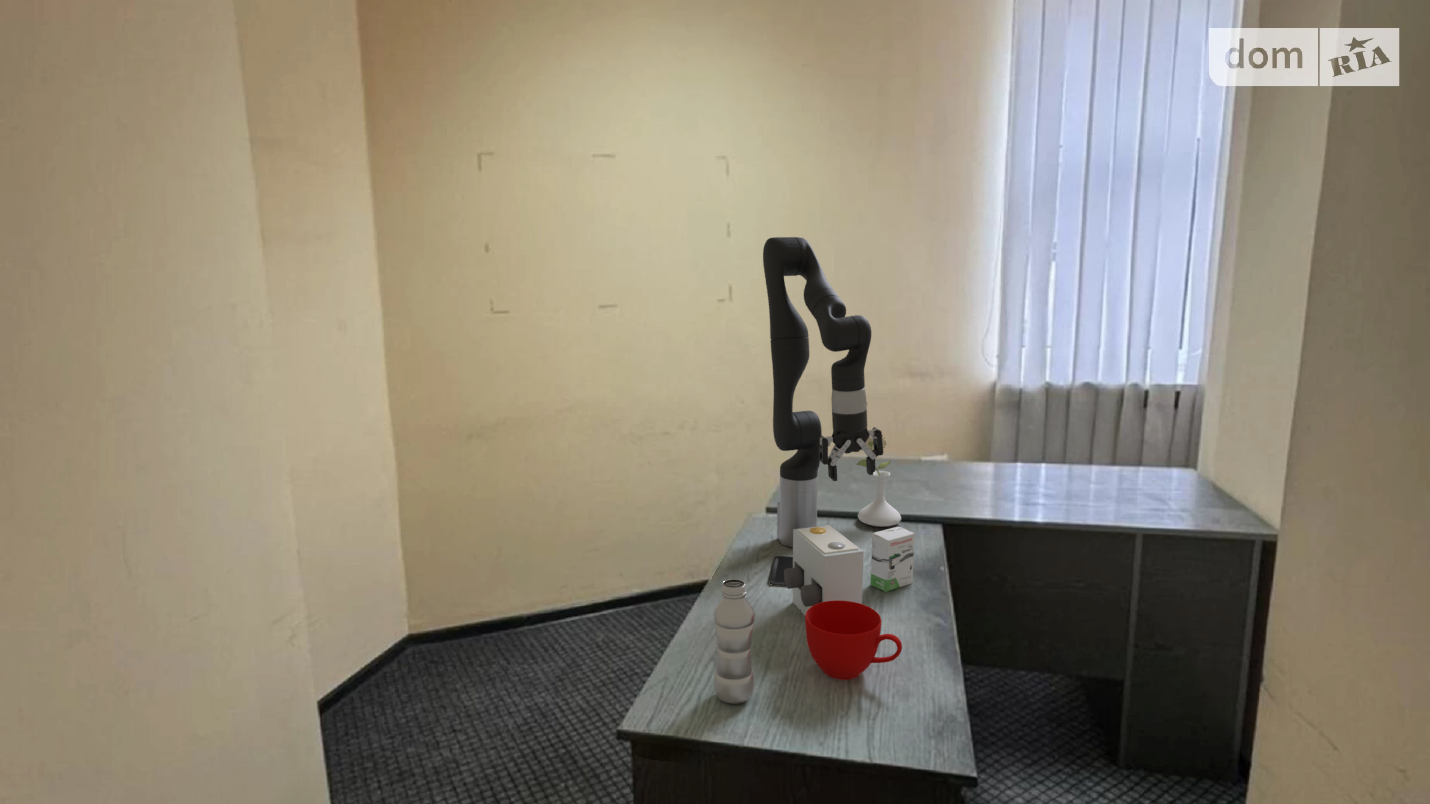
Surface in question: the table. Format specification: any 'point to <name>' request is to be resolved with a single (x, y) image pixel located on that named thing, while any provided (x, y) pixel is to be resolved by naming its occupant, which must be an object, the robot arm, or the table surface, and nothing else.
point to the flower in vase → (879, 497)
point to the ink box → (892, 558)
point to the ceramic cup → (845, 638)
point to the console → (828, 564)
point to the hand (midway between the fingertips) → (852, 477)
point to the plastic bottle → (734, 644)
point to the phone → (780, 569)
